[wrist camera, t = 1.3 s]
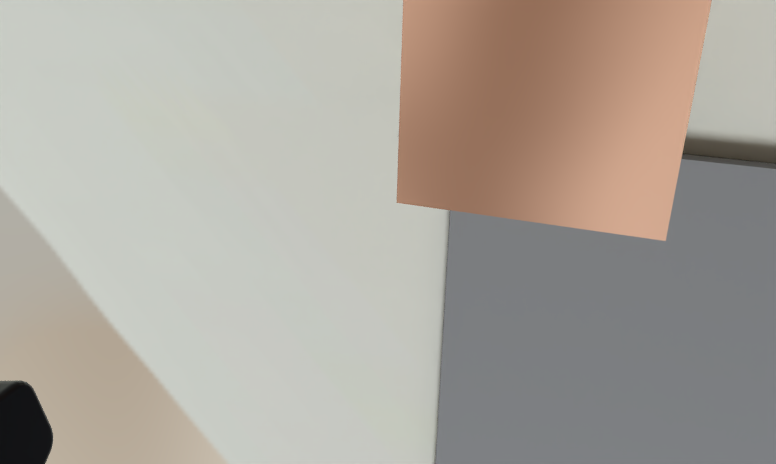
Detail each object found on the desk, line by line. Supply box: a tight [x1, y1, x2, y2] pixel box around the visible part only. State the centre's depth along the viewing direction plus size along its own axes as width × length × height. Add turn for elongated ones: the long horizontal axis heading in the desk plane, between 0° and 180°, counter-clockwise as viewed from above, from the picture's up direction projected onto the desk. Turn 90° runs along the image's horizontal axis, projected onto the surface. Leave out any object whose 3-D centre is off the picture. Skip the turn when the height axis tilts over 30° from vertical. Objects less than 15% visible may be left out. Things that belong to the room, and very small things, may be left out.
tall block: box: [397, 0, 712, 241], centre depth 16 cm, size 5×5×8 cm
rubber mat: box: [436, 154, 776, 464], centre depth 22 cm, size 16×18×1 cm
